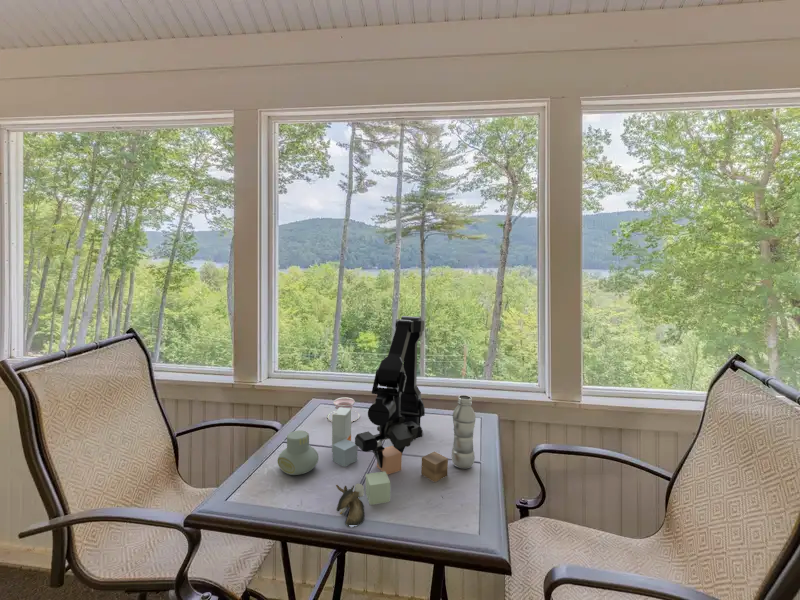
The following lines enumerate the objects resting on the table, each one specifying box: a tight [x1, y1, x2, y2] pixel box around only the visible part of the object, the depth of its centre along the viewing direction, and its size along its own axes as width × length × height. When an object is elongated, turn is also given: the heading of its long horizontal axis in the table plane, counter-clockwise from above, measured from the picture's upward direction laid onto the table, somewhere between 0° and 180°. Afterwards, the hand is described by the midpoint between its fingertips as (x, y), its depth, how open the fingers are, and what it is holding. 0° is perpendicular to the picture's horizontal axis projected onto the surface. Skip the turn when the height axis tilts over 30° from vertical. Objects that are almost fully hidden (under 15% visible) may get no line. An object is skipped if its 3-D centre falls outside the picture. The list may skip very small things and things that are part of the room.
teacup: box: [326, 396, 361, 423], centre depth 142 cm, size 12×12×6 cm
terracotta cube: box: [376, 445, 403, 476], centre depth 107 cm, size 5×5×5 cm
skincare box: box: [331, 407, 352, 453], centre depth 117 cm, size 6×4×12 cm
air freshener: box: [277, 430, 319, 476], centre depth 106 cm, size 11×8×10 cm
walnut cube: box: [420, 451, 449, 483], centre depth 104 cm, size 5×5×5 cm
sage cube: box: [365, 471, 391, 506], centre depth 94 cm, size 5×5×5 cm
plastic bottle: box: [451, 394, 477, 470], centre depth 109 cm, size 6×7×20 cm
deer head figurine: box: [335, 483, 365, 526], centre depth 87 cm, size 8×7×9 cm
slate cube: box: [332, 439, 358, 467], centre depth 111 cm, size 5×5×5 cm
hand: (389, 464), depth 107 cm, fingers closed on terracotta cube, 5 cm apart
